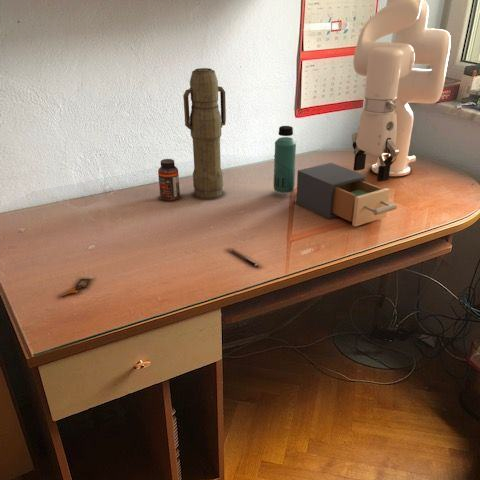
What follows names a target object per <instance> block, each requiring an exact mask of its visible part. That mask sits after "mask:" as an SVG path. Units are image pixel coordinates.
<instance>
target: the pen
mask: <svg viewBox="0 0 480 480" xmlns="http://www.w3.org/2000/svg"><path fill="white" fill-rule="evenodd" d="M229 251H230V253H231V254H233V255H235V256H237V257H238V258H240V259H242V260H243V261H245V262H246V263H248V264H250V265H252V266H253V267H255V268H256V267H257V268H259V265H258V264H257V262H256V261H254V260H252V259H251V258H249V257H247V256H245V255H242V254H241V253H239V252H237V251H236V250H234V249H229Z"/></svg>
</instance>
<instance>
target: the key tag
mask: <svg viewBox="0 0 480 480" xmlns="http://www.w3.org/2000/svg"><path fill="white" fill-rule="evenodd" d="M90 281H91V278H81V279H80V280H79V281H78V283H77V284H76V285H75V287H73V288H71V289H70V290H68V291H67V292H65V293H62V294H61V297H65V296H68V295H70V294H71V295H72V294H76V293H78V292H79V291H80V290H81V289H82V288H84V289H85V288H87V286H88V285H89V283H90Z"/></svg>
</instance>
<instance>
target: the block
mask: <svg viewBox="0 0 480 480" xmlns="http://www.w3.org/2000/svg"><path fill="white" fill-rule="evenodd" d="M350 193H353V194H355V195H356V196H360V195H364V194H367V192H365V191H362V190H356V191H352V192H350Z"/></svg>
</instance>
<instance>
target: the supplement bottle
mask: <svg viewBox="0 0 480 480" xmlns="http://www.w3.org/2000/svg"><path fill="white" fill-rule="evenodd" d="M157 175H158V187H159V197H160V199H161V200H163V201H165V202H172V201H176V200H179V199H180V197H181V191H180V177H179V169H178V167H176V164H175V159H172V158H163V159H160V167H159V168H158V170H157Z"/></svg>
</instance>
